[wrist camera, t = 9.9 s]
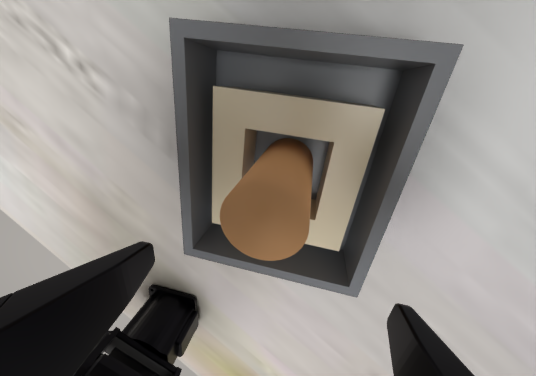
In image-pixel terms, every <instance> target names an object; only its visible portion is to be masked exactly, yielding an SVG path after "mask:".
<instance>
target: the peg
mask: <svg viewBox="0 0 536 376" xmlns="http://www.w3.org/2000/svg"><path fill="white" fill-rule="evenodd" d="M312 176H313V157H312V154H311V152H310V150H309V148H308V147H307V146H306V145H305V144H304V143H302V142H301V141H299V140H296V139H292V138H283V139H279V140H277V141H275V142H273V143H272V144H271V145H270V146H269V147H268V148H267V149H266V151H265V152H264V153H263V154H262V155H261V157H260V158H259V159H258V160H257V161H256V162H255V164H254V165H253V166H252V167H251V168H250V169H249V171H248V172H247V173H246V174H245V175H244V176H243V178H242V179H241V180H240V181H239V182H238V183H237V185H236V186H235V187H234V188H233V189H232V190H231V192H230V193H229V194H228V195H227V196H226V198H225V199H224V201H223V203H222V205H221V209H220V223H221V227H222V230H223V232H224V234H225V236H226V237H227V239H228V240H229V242H230V243H231V244H232V245H233V246H234V247H235V248H237V249H238V250H239V251H241V252H242V253H244V254H246V255H248V256H250V257H252V258H255V259H259V260H265V261H276V260H282V259H285V258H288V257H290V256H292V255H294V254H295V253H297V252H298V251H299V250H300V249H301V248H302V247H303V245H304V244H305V242H306V240H307V237H308V234H309V225H310V209H311V192H312Z"/></svg>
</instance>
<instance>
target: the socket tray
mask: <svg viewBox="0 0 536 376" xmlns="http://www.w3.org/2000/svg"><path fill="white" fill-rule="evenodd" d="M169 25H170V41H171V56H172V72H173V88H174V104H175V120H176V136H177V151H178V167H179V183H180V199H181V215H182V231H183V246H184V254H186V255H190V256H194V257H198V258H202V259H205V260H209V261H213V262H217V263H221V264H225V265H229V266H233V267H237V268H241V269H245V270H249V271H253V272H257V273H261V274H265V275H269V276H273V277H277V278H281V279H285V280H289V281H293V282H297V283H301V284H305V285H309V286H313V287H317V288H321V289H325V290H329V291H333V292H337V293H341V294H345V295H349V296H353V297H358V295H359V292H360V290H361V287H362V285H363V283H364V280H365V278H366V276H367V273H368V271H369V268H370V266H371V264H372V261H373V259H374V257H375V254H376V252H377V249H378V247H379V245H380V242H381V240H382V238H383V235H384V233H385V230H386V228H387V226H388V223H389V221H390V219H391V216H392V214H393V211H394V209H395V207H396V204H397V202H398V200H399V197H400V195H401V192H402V190H403V188H404V185H405V183H406V181H407V178H408V176H409V173H410V171H411V169H412V166H413V164H414V162H415V159H416V157H417V154H418V152H419V150H420V147H421V145H422V143H423V140H424V138H425V135H426V133H427V131H428V128H429V126H430V124H431V121H432V119H433V116H434V114H435V112H436V109H437V107H438V105H439V102H440V100H441V97H442V95H443V93H444V90H445V88H446V85H447V83H448V81H449V78H450V76H451V74H452V71H453V69H454V66H455V64H456V62H457V59H458V57H459V55H460V52H461V50H462V47H463V44H452V43H441V42H430V41H419V40H408V39H397V38H386V37H376V36H365V35H354V34H343V33H332V32H321V31H310V30H299V29H288V28H277V27H266V26H255V25H244V24H233V23H222V22H211V21H200V20H189V19H178V18H169ZM283 138H292V139H296V140H299V141H301V142H302V143H304V144H305V145H306V146H307V147H308V148H309V150H310V152H311V154H312V157H313V176H312V192H311V209H310V225H309V234H308V237H307V240H306V242H305V244H304V245H303V247H302V248H301V249H300V250H299V251H298V252H297V253H295V254H294V255H292V256H290V257H288V258H285V259H282V260H276V261H265V260H259V259H255V258H252V257H250V256H248V255H246V254H244V253H242V252H241V251H239V250H238V249H237V248H235V247H234V246H233V245H232V244H231V243H230V242H229V240H228V239H227V237H226V236H225V234H224V232H223V230H222V227H221V223H220V209H221V205H222V203H223V201H224V199H225V198H226V196H227V195H228V194H229V193H230V192H231V190H232V189H233V188H234V187H235V186H236V185H237V183H238V182H239V181H240V180H241V179H242V178H243V176H244V175H245V174H246V173H247V172H248V171H249V169H250V168H251V167H252V166H253V165H254V164H255V162H256V161H257V160H258V159H259V158H260V157H261V155H262V154H263V153H264V152H265V151H266V149H267V148H268V147H269V146H270V145H271V144H272V143H273V142H275V141H277V140H279V139H283Z"/></svg>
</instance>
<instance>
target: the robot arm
mask: <svg viewBox="0 0 536 376" xmlns="http://www.w3.org/2000/svg"><path fill="white" fill-rule="evenodd" d="M154 262H155V257H154V250H153V245H152V244H151V243H147V242H138V243H136V244H133V245H131V246H128V247H126V248H123V249H121V250H118V251H116V252H113V253H111V254H108V255H106V256H103V257H101V258H98V259H96V260H93V261H91V262H88V263H86V264H83V265H81V266H78V267H76V268H73V269H71V270H68V271H66V272H63V273H61V274H58V275H56V276H53V277H51V278H48V279H46V280H43V281H41V282H38V283H36V284H33V285H31V286H28V287H26V288H23V289H21V290H18V291H16V292H14V293H11V294H8V295H6V296H3V297H1V298H0V376H179V375H180V373H181V370H182V369H180V368H179V367H175V366H174V365H173V364H174V362H175V360H176V358H177V356H178V357H181V356H182V355H183V354H184V352H185V350H186V348H187V346H188V344H189V342H190V340H191V338H192V336H193V334H194V332H195V331H196V329H197V327H198V312H197V299H196V298H195V297H194V296H191V295H188V294H184V293H181V292H177V291H173V290H170V289H166V288H163V287H159V286H155V285H151V286H150V287H149V294H150V298H149V299H148V300H147V301H146V303H145V304H144V305H143V306H142V307H141V309H140V310H139V311H138V312H137V314H136V315H135V316H134V317H133V319H132V320H131V321H130V322H129V324H128V325H127V326H126V327H125V328H124V330H123V331H122V332H121V331H120V329H119V328H117V327H116V328H115V329H114V330H113V331H108V330H109V328H110V327H111V326H112V325H113V323H114V322H115V321H116V319H117V318H118V317H119V315H120V314H121V313H122V312H123V310H124V309H125V308H126V306H127V305H128V304H129V302H130V301H131V299H132V298H133V296H134V295H135V293H136V292H137V290H138V289H139V287H140V285H141V284H142V282H143V281H144V279H145V278H146V276H147V274H148V273H149V271H150V270H151V268H152V267H153V265H154ZM387 329H388V337H389V344H390V352H391V359H392V367H393V373H394V376H474V375H473V374H472V373H471V371H470V370H469V369H468V368H467V367H466V366H465V365H464V364H463V363H462V362H461V361H460V360H459V358H458V357H457V356H456V355H455V354H454V353H453V352H452V351H451V350H450V349H449V348H448V346H447V345H446V344H445V343H444V342H443V341H442V340H441V339H440V338H439V337H438V336H437V334H436V333H435V332H434V331H433V330H432V329H431V328H430V327H429V326H428V325H427V324H426V322H425V321H424V320H423V319H422V318H421V317H420V316H419V315H418V314H417V313H416V312H415V311H414V309H413V308H411V307H410V306H408V305H403V304H399V303H397V304H395V306H394V307H393V309H392V311H391V313H390V315H389V317H388V320H387ZM103 352H106V353H108V354H109V355H106V354H103Z"/></svg>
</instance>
